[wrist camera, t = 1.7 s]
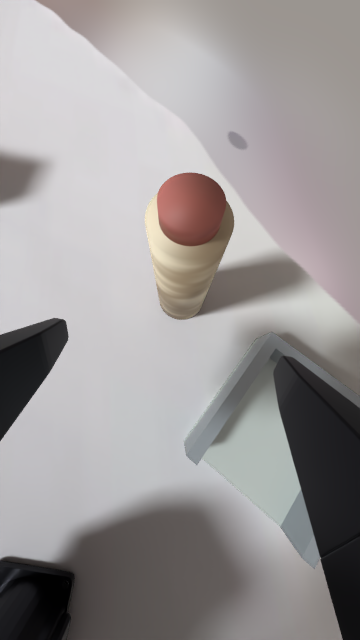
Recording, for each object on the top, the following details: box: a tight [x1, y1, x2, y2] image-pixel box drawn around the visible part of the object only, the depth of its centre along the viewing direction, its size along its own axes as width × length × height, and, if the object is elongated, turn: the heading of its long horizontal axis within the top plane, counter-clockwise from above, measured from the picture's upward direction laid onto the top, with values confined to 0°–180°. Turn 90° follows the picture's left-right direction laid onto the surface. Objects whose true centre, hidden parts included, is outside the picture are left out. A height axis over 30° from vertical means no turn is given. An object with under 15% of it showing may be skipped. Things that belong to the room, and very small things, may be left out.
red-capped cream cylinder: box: [145, 173, 234, 320], centre depth 16 cm, size 5×5×13 cm
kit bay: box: [184, 332, 360, 569], centre depth 18 cm, size 11×12×4 cm
